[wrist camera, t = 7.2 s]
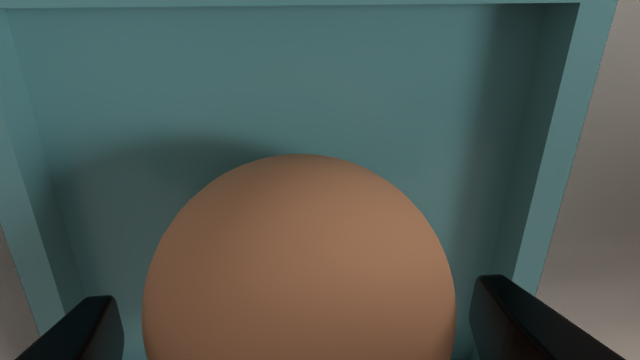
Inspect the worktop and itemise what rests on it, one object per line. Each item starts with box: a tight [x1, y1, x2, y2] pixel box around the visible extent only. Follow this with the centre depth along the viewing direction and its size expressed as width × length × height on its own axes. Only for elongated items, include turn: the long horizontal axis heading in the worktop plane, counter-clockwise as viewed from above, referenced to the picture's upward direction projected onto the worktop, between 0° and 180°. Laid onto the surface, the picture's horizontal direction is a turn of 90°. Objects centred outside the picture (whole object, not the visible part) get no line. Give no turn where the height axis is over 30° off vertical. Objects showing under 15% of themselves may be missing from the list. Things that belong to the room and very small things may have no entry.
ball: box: [142, 154, 456, 360], centre depth 9 cm, size 5×5×5 cm
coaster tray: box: [0, 0, 618, 360], centre depth 11 cm, size 10×10×2 cm
